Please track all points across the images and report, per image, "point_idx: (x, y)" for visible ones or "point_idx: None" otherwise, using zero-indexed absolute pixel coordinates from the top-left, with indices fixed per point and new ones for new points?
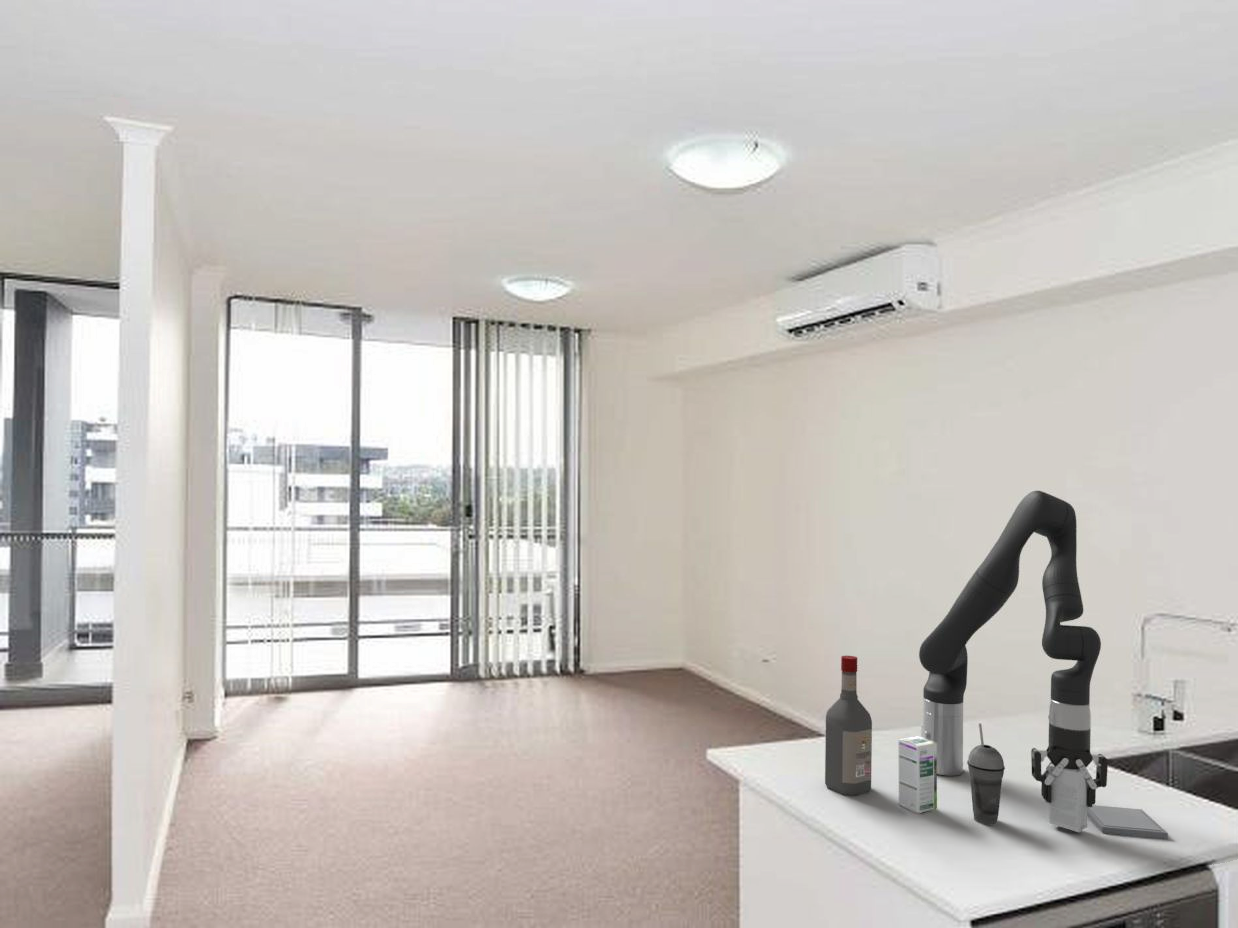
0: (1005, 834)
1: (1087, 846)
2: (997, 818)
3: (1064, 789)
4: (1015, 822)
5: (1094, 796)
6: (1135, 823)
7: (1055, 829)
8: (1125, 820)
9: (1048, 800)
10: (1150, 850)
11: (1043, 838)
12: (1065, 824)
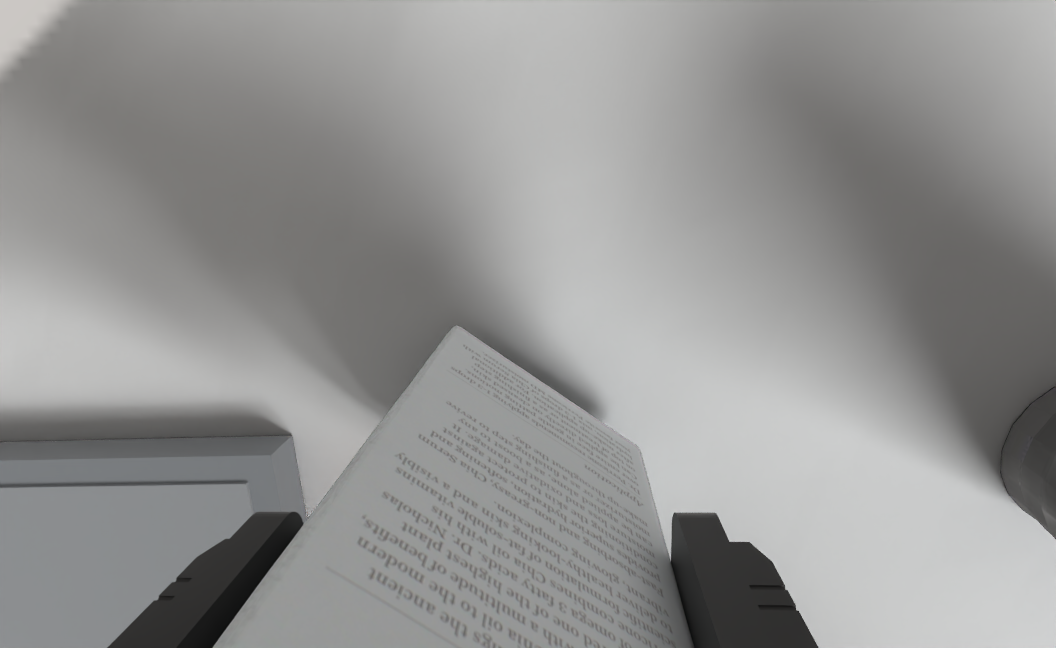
0: (1042, 209)
1: (447, 155)
2: (1042, 435)
3: (535, 616)
4: (858, 465)
5: (162, 603)
6: (47, 562)
7: (597, 412)
8: (102, 595)
9: (710, 523)
10: (32, 217)
11: (745, 215)
12: (542, 388)
